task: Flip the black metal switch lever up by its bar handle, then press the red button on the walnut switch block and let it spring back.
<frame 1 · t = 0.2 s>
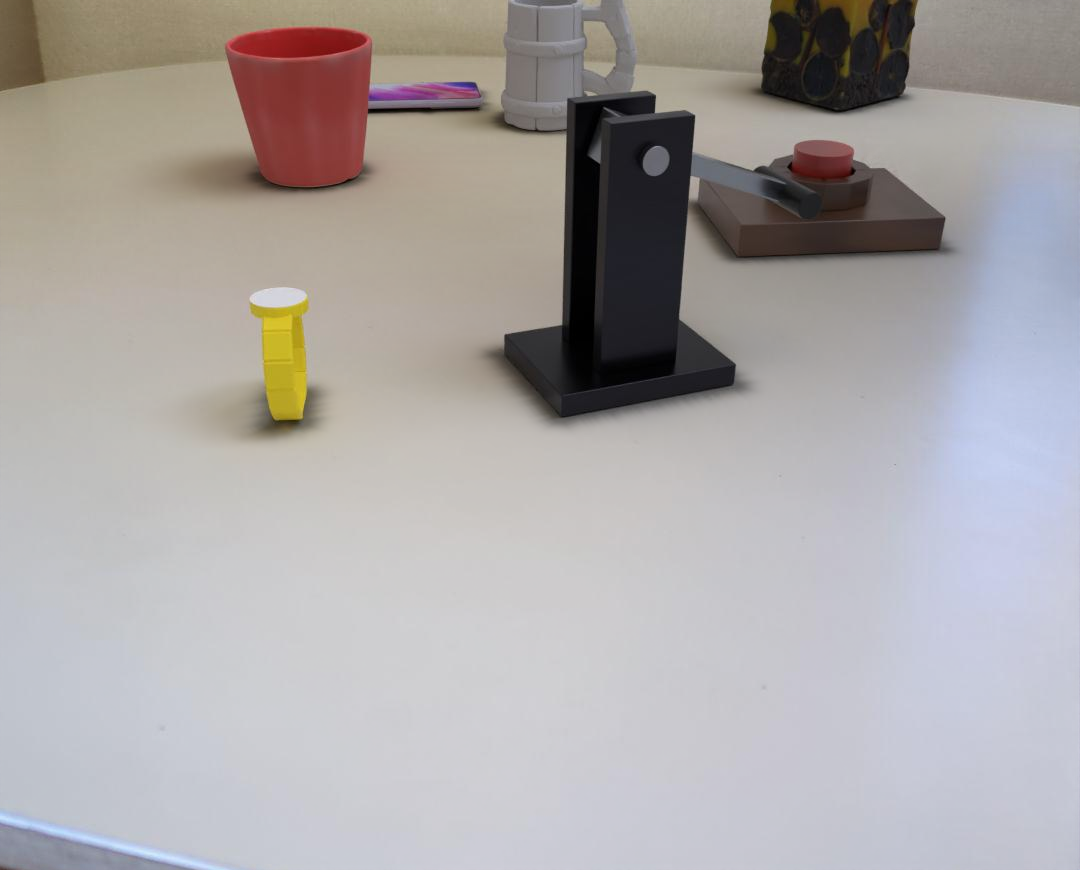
start button: (822, 161, 82), point 4 cm above the table, slide at 0.1 cm
flower pot: (311, 175, 93), on the table
smartphone: (399, 102, 111), on the table
switch bracket: (616, 368, 65), on the table
switch lever: (704, 167, 61), point 10 cm above the table, hinge at -20.0°
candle: (831, 96, 116), on the table
switch block: (813, 225, 85), on the table
watch: (291, 411, 61), on the table
mug: (567, 123, 107), on the table
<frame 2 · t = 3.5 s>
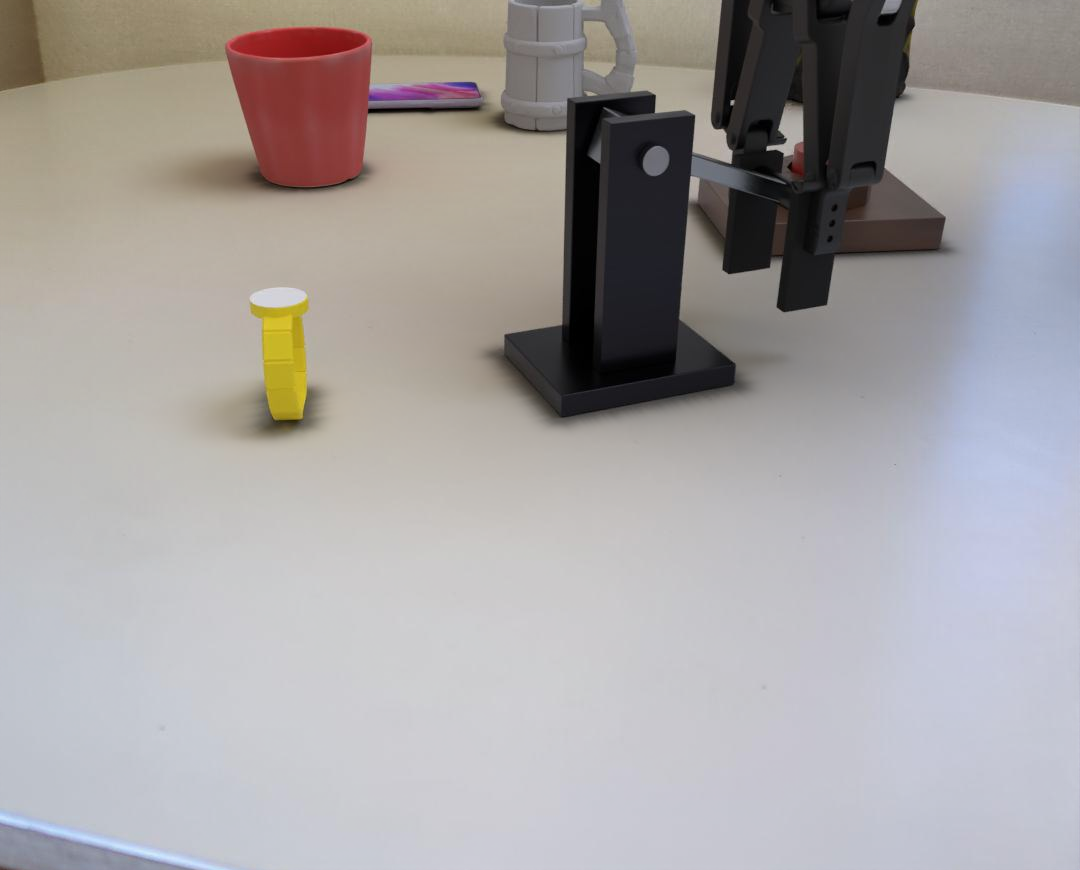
hand: (773, 286, 66), 3 cm above the table, tool pointing down, fingers closed on switch lever, 5 cm apart
switch lever: (704, 167, 61), point 10 cm above the table, hinge at -20.0°, touching gripper
everything else where it was.
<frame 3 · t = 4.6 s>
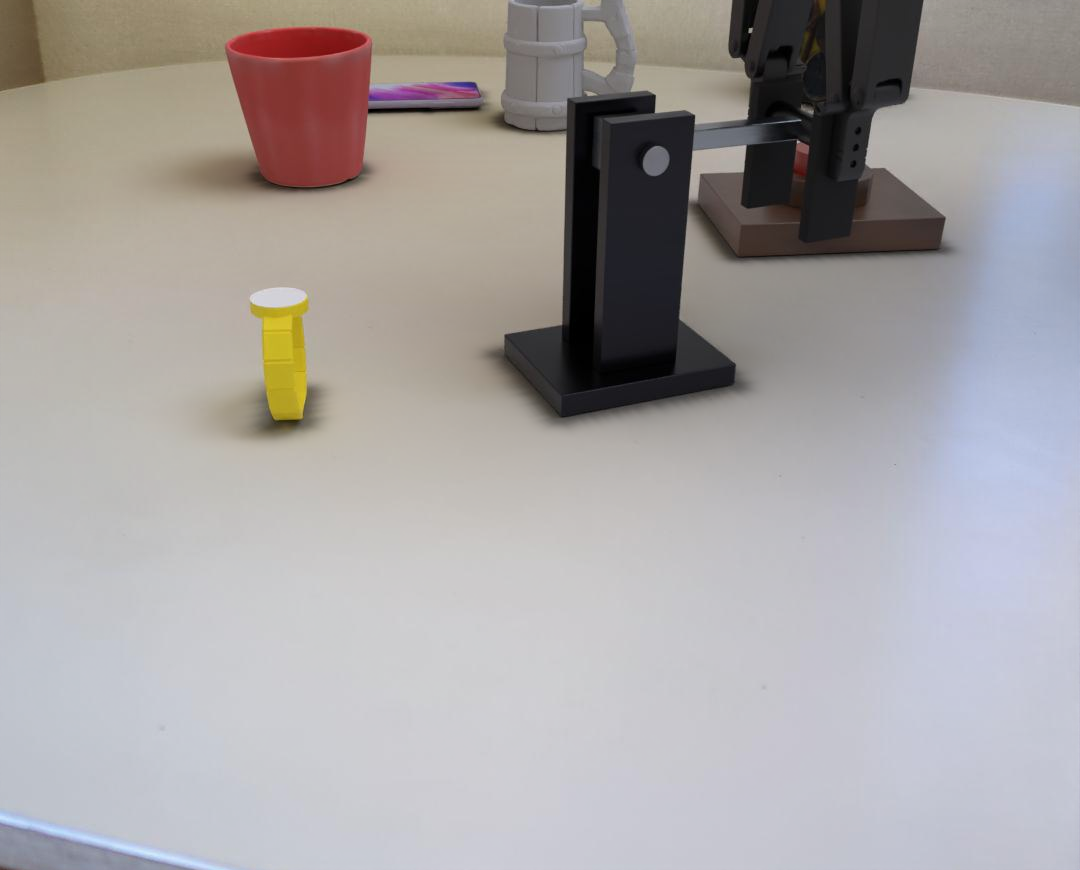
hand: (793, 219, 65), 7 cm above the table, tool pointing down, fingers closed on switch lever, 5 cm apart
switch lever: (711, 135, 60), point 12 cm above the table, hinge at -0.4°, touching gripper
everything else where it was.
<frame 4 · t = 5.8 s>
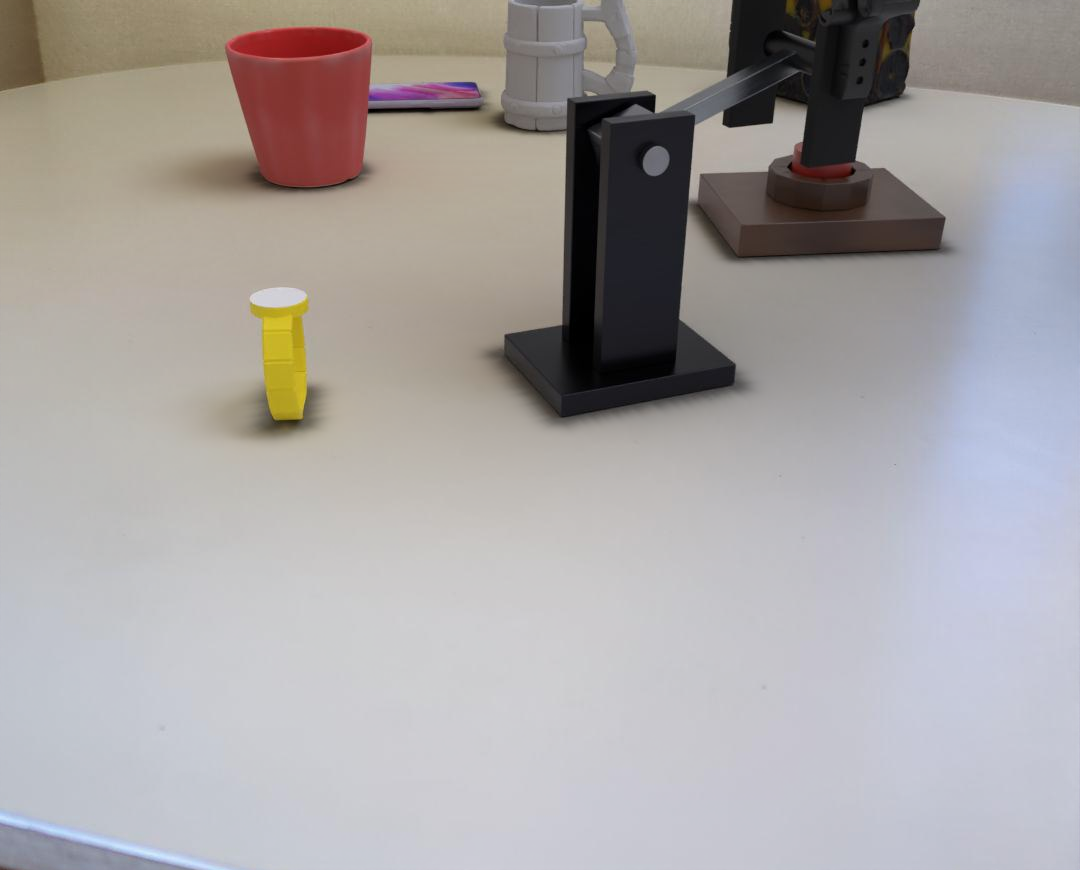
hand: (785, 141, 62), 11 cm above the table, tool pointing down, fingers open, 7 cm apart
switch lever: (709, 102, 59), point 14 cm above the table, hinge at 20.2°
everything else where it was.
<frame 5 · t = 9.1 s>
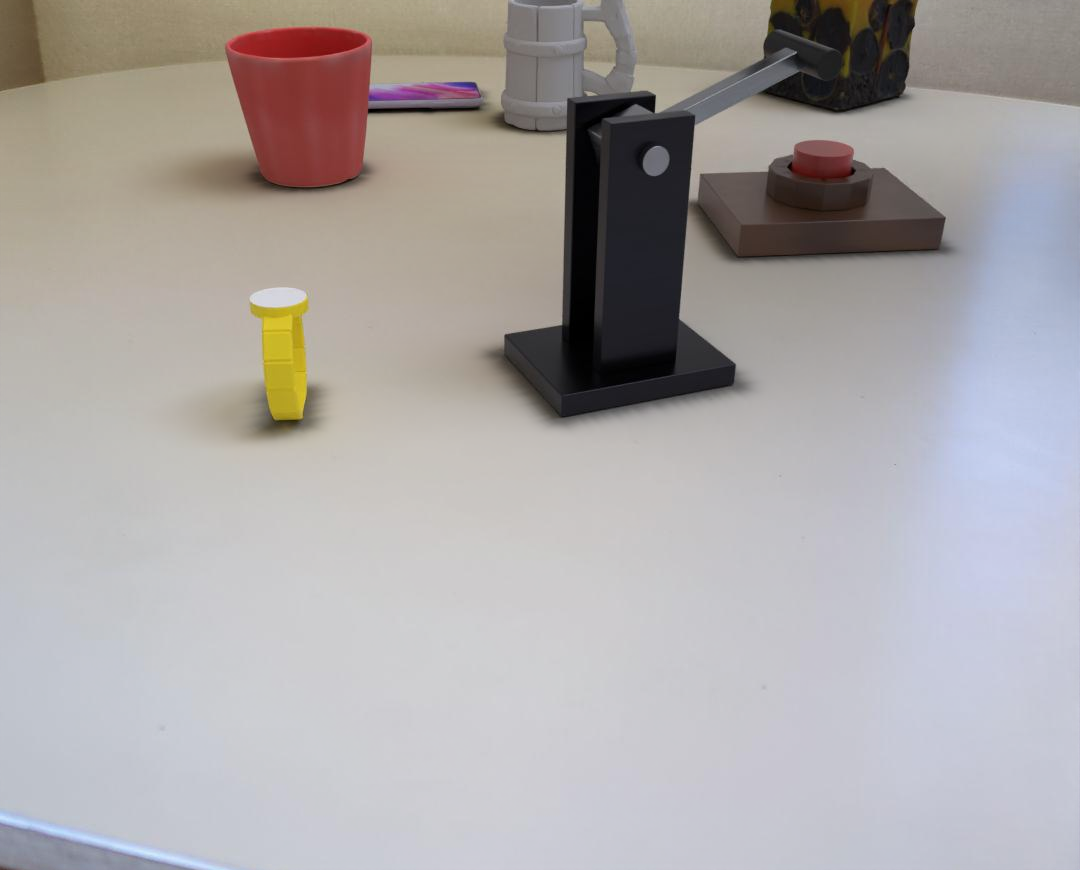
nothing on the table moved.
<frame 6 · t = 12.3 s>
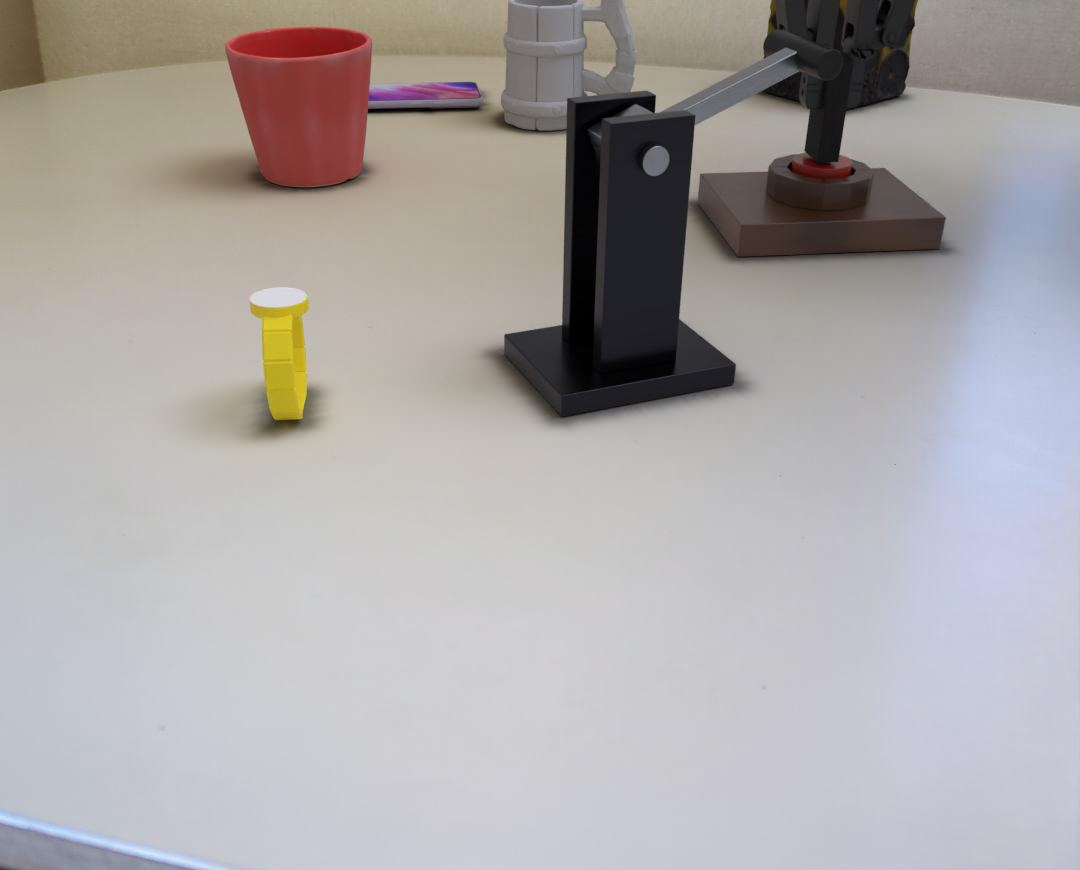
hand: (821, 156, 82), 5 cm above the table, tool pointing down, fingers closed
start button: (820, 172, 83), point 4 cm above the table, slide at -0.7 cm, touching gripper
everything else where it was.
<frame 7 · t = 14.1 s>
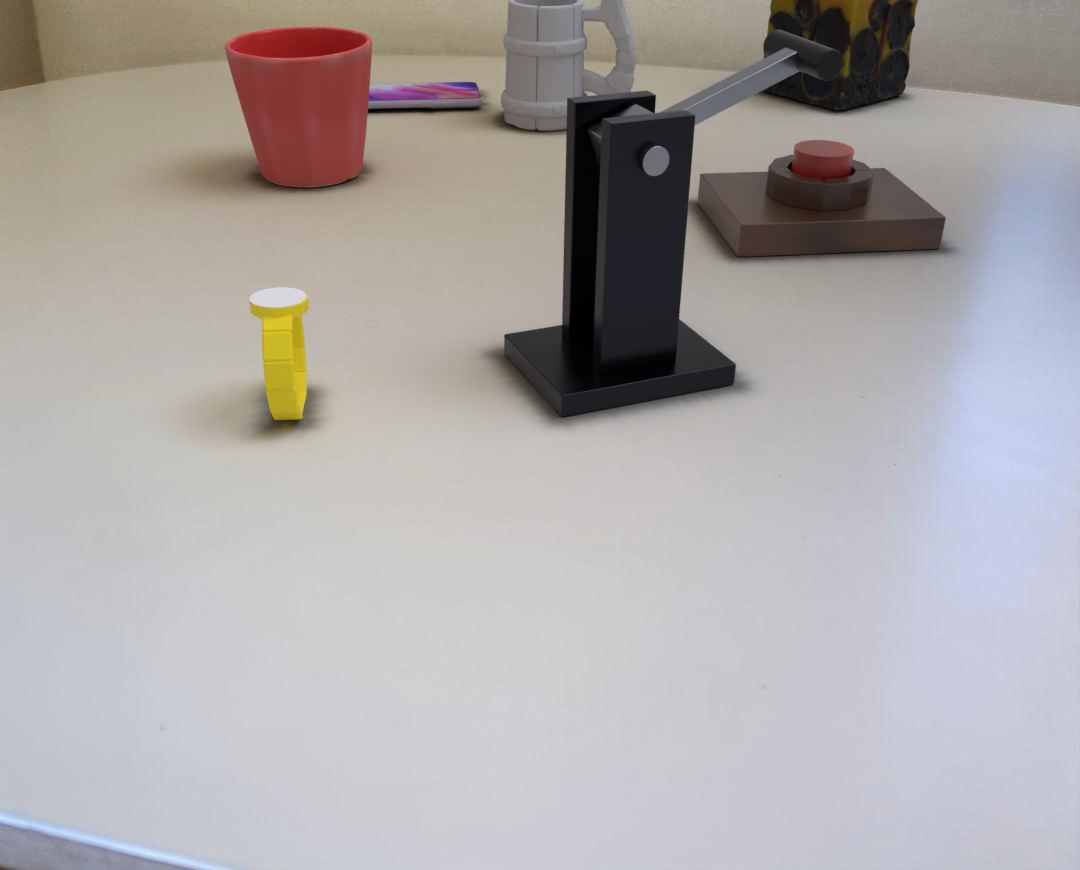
start button: (822, 161, 82), point 4 cm above the table, slide at 0.1 cm
everything else where it was.
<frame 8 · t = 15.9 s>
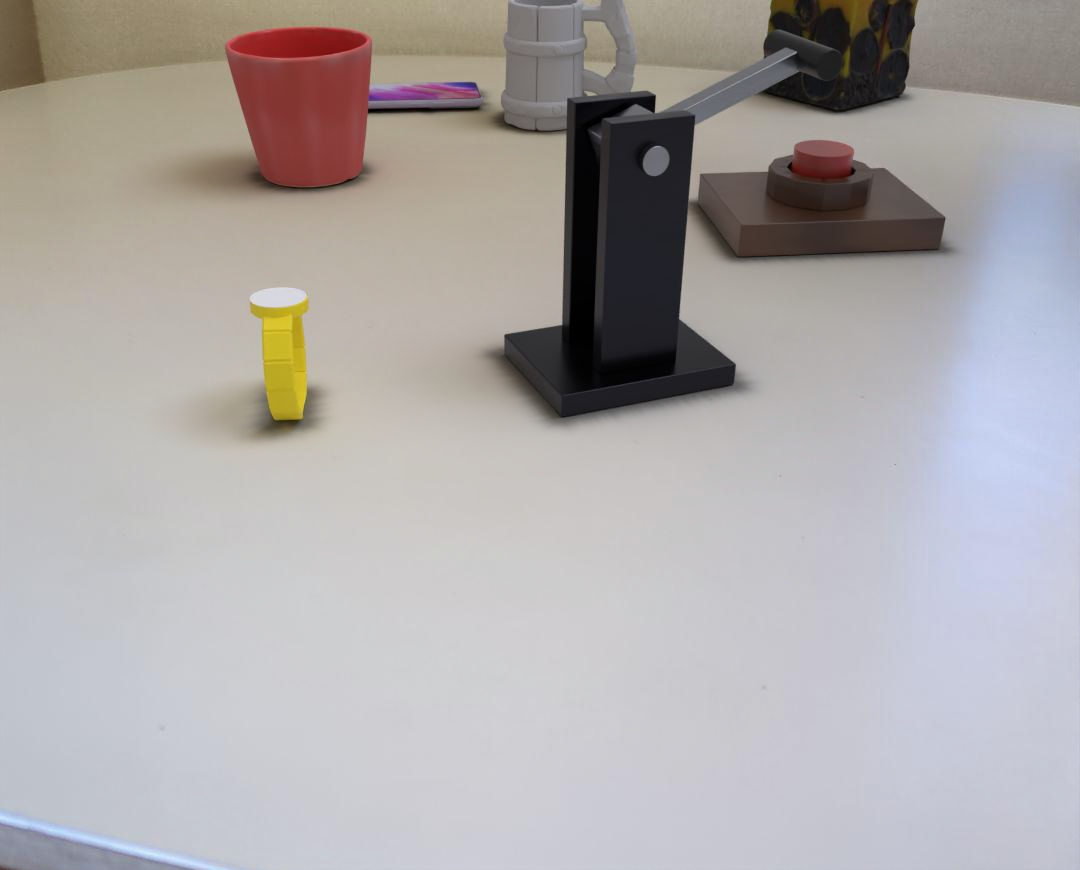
nothing on the table moved.
at the end: switch lever at +20° (first picture: -20°); start button pushed in 1.0 cm at the most during the clip, back to where it started at the end; start button slide at 0.1 cm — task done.
